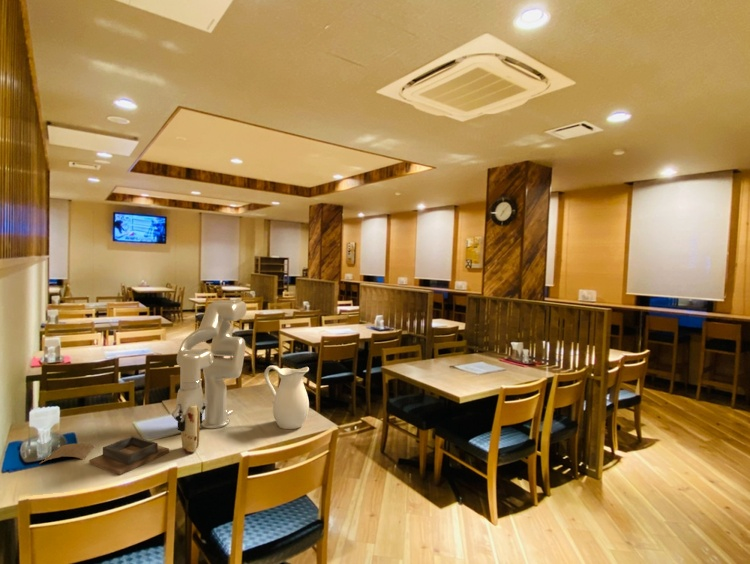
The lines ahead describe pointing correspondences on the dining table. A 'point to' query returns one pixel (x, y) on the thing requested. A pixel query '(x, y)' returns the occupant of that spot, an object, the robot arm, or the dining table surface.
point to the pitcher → (289, 397)
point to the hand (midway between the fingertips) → (190, 426)
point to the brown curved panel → (72, 451)
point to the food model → (191, 430)
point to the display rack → (128, 454)
